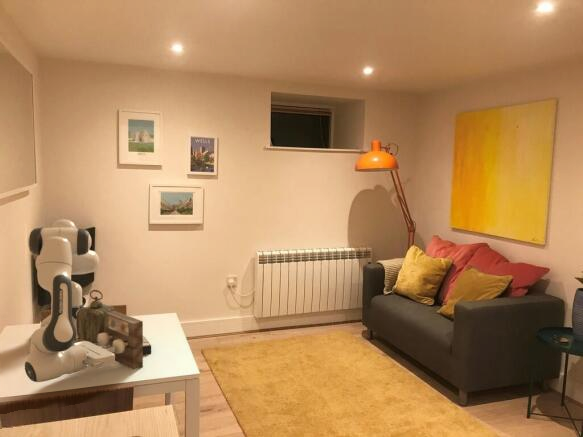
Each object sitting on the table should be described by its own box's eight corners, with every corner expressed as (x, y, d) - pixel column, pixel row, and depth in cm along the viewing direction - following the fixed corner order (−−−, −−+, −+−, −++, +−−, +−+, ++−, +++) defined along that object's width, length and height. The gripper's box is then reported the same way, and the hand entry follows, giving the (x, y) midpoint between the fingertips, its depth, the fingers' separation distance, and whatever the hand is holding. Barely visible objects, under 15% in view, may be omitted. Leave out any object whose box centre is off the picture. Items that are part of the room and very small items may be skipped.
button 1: (104, 348, 186) (104, 335, 185) (97, 344, 189) (97, 332, 189) (120, 343, 191) (119, 331, 191) (113, 340, 194) (112, 328, 194)
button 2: (119, 355, 179) (119, 342, 179) (112, 352, 182) (112, 338, 182) (135, 350, 184) (135, 337, 184) (128, 347, 187) (128, 334, 187)
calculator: (144, 334, 212) (151, 343, 198) (144, 344, 212) (151, 354, 199) (118, 337, 207) (123, 347, 193) (118, 347, 207) (123, 358, 194)
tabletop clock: (117, 347, 204) (116, 290, 202) (100, 354, 196) (100, 294, 193) (91, 342, 210) (91, 286, 208) (74, 348, 202) (74, 290, 199)
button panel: (132, 370, 182) (132, 323, 180) (104, 356, 194) (104, 313, 192) (142, 366, 185) (142, 321, 183) (114, 353, 198) (114, 310, 196)
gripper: (91, 357, 162) (128, 347, 173) (63, 342, 175) (98, 333, 186) (91, 375, 163) (128, 363, 173) (63, 359, 176) (99, 349, 186)
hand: (112, 348), depth 180 cm, fingers closed
